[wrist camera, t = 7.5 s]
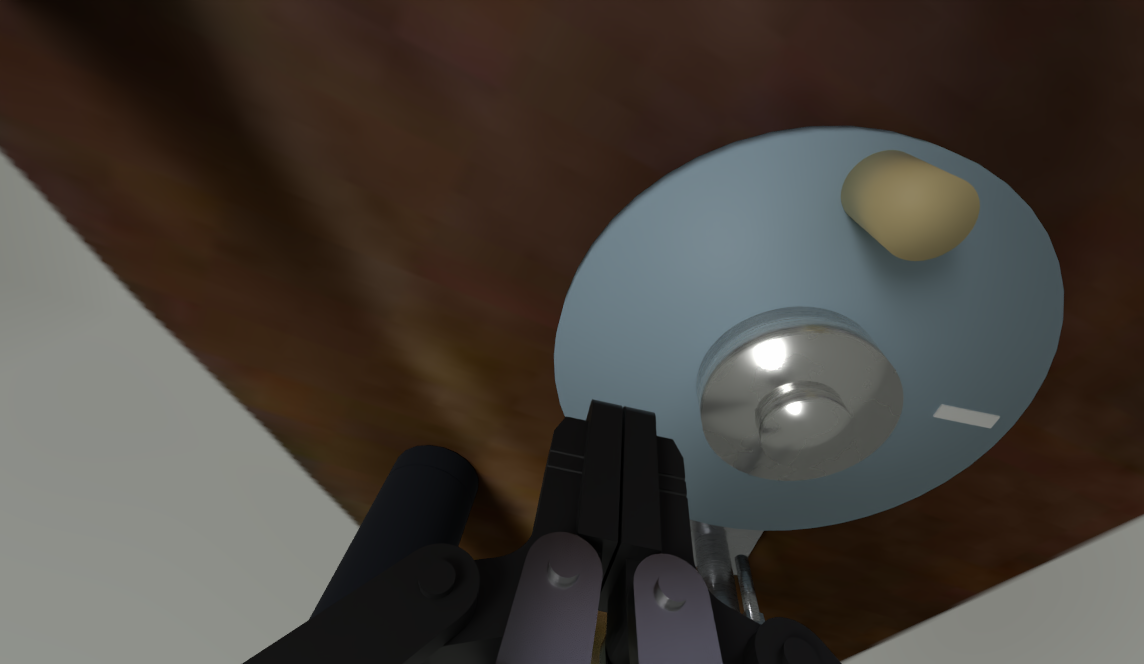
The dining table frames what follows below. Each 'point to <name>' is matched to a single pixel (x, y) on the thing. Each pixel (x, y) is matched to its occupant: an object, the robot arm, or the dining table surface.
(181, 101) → the dining table surface
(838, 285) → the platter
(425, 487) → the black bottle
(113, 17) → the dining table surface
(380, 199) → the dining table surface
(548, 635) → the robot arm
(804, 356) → the cover
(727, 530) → the dial gauge
